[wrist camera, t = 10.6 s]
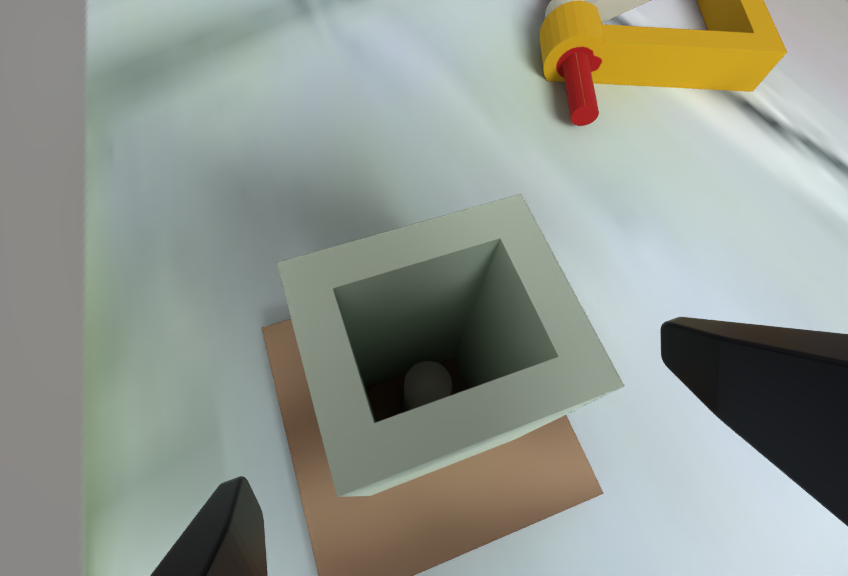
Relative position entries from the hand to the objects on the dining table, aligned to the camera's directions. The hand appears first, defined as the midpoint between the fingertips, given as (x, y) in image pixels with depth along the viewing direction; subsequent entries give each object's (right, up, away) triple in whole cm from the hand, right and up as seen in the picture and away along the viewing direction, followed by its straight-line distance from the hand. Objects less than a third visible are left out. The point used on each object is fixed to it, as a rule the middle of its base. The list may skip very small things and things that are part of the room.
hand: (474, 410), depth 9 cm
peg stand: (-1, -3, +10) cm, 11 cm away
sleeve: (-1, -2, +10) cm, 10 cm away
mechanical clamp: (+15, +25, +25) cm, 38 cm away
